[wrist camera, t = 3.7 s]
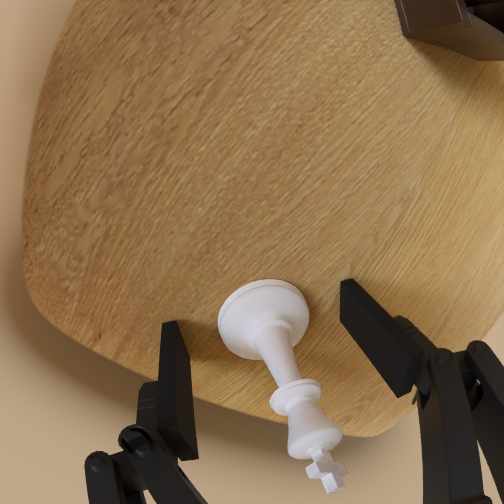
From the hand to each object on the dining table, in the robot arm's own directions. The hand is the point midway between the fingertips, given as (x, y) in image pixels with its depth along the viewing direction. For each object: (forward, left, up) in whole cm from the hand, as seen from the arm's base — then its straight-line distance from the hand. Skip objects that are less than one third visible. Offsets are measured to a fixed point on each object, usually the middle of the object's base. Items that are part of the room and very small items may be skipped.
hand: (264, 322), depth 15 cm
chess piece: (0, 0, 0) cm, 0 cm away
